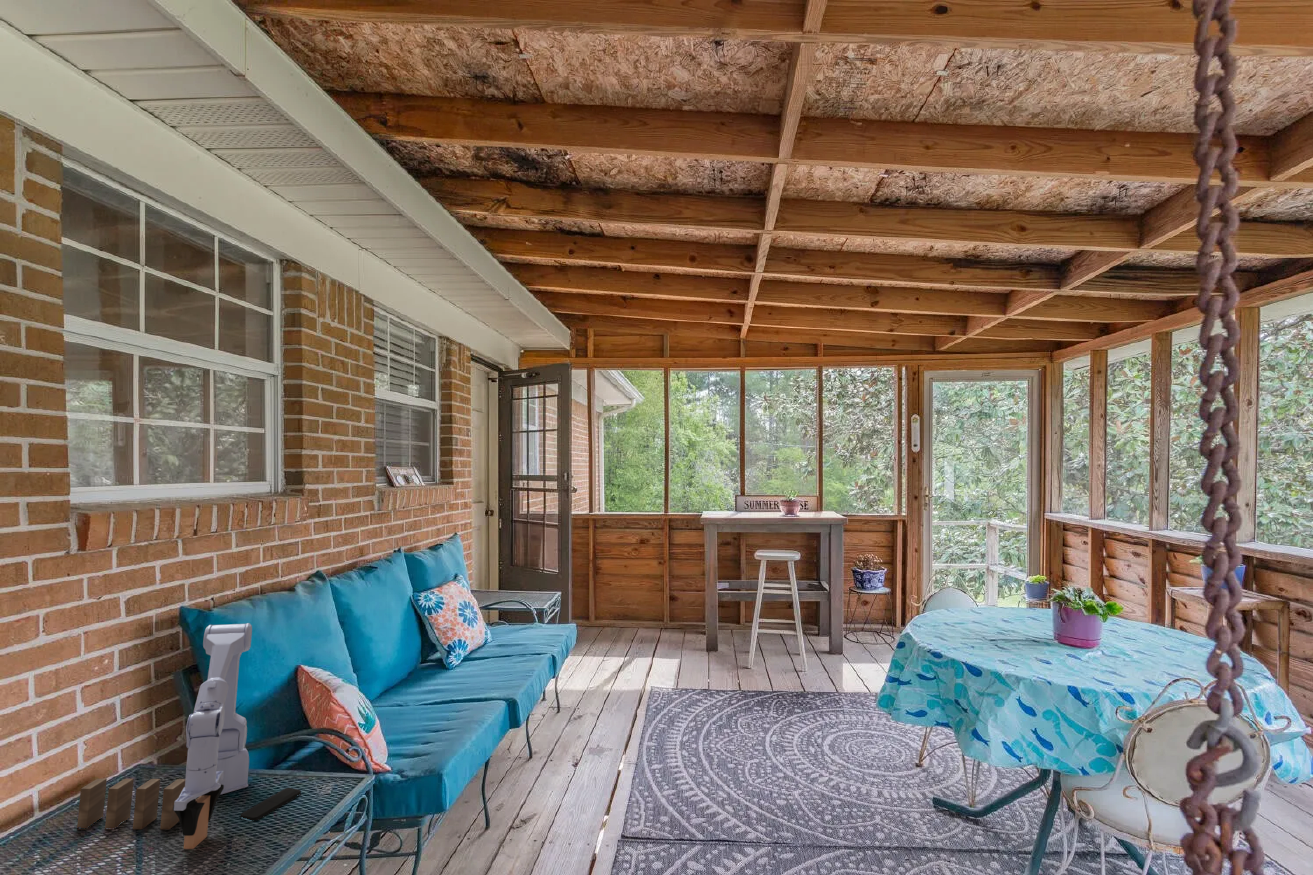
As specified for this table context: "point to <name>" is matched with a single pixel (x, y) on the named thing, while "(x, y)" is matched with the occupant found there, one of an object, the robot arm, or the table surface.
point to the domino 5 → (199, 824)
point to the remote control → (270, 804)
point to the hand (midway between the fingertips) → (196, 827)
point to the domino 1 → (91, 803)
